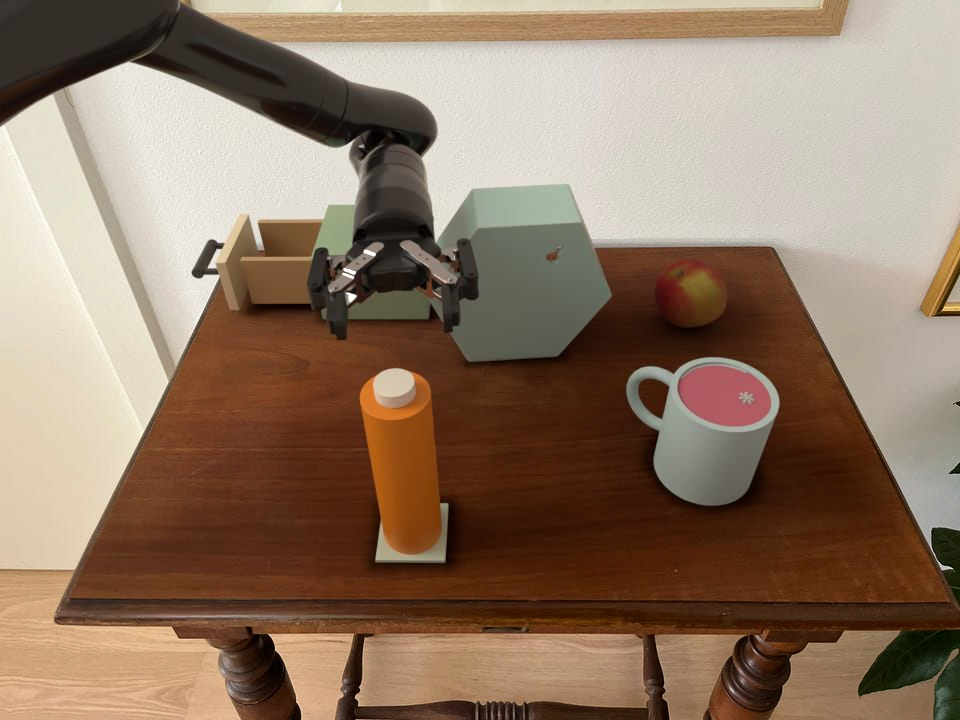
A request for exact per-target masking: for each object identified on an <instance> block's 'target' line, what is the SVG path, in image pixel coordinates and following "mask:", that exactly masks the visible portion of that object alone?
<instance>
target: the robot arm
mask: <svg viewBox="0 0 960 720" xmlns="http://www.w3.org/2000/svg"><path fill="white" fill-rule="evenodd" d="M127 63H130V64H133V65H137V66H141V67H145V68H148V69H152V70H154V71H157V72H159V73H163V74H166V75H169V76H171V77H174V78H175V79H179V80H181V81H184V82H186V83H189V84H192V85H194V86H197V87H199V88H202V89H203V90H205V91H208V92H210V93H213V94H215V95H217V96H219V97H221V98H223V99H226V100H227V101H230V102H232V103H234V104H236V105H238V106H240V107H242V108H244V109H246V110H248V111H250V112H252V113H254V114H256V115H258V116H260V117H262V118H263V119H266V120H268V121H270V122H272V123H274V124H276V125H279V126H281V127H283V128H285V129H287V130H289V131H291V132H293V133H295V134H298V135H300V136H303V137H304V138H307V139H309V140H311V141H314V142H315V143H318V144H320V145H322V146H325V147H328V148H331V149H339V148H343V147H345V146H347V145H349V144H350V143H351V145H350V147H349V151H348V161H349V164H350V165H351V167H352V169H353V170H354V172H355V175H356V177H357V179H358V191H357V193H356V197H355V201H354V205H355V209H354V224H353V239H352V247H351V248H350V249H349V250H348V251H347V253H346V255H329V252H328V249H327V248H325V247H320V248H317V249H316V250H315V251H314V255H313V259H312V263H311V268H310V272H309V276H308V280H307V284H306V285H307V289H308V294H309V299H310V303H311V304H310V307H311V310H312V311H315V312H319V311H321V310H323V309H324V308H327V315H326V319H325V320H326V323H327V327H328V332H329V333H330V335H331V336H332V335H335V336H336V340H337V341H347V338H348V324H349V323H348V322H349V319H348V309H349V308H350V307H352V306H353V305H354V304H355V303H356V302H357V303H360V304H361V303H363V302H364V301H365V300H366V299H367V298H369V297H370V296H371V295H372V294H373V293H375V292H376V291H377V293H386V292H391V291H413V288H416V289H417V290H419V291H420V292H422V293H423V294H425V295H426V296H427V297H429V298H431V299H432V298H434V297H435V298H437V299H438V300H440V301H441V302H442V311H443V322H444V323H443V322H442V323H443V332H444V334H448V333H449V334H450V333H451V332H453V326H459V324H460V322H461V319H460V304H459V301H460V300H462V299H464V298H466V299H467V300H476V299H478V297H479V290H478V278H479V277H478V269H477V265H476V262H475V258H474V254H473V250H472V246H471V242H470V240H468V239H465V238H462V239H459V240H458V241H457V247H451V248H440V247H439V245H437V244H436V237H435V235H436V234H435V226H434V222H435V217H434V213H433V211H434V210H433V203H432V199H431V195H430V193H429V181H428V173H427V169H426V165H425V162H424V160H423V158H424V156H426V155H427V153H428V152H429V151H430V150H431V148H432V147H433V146H434V144H435V143H436V141H437V139H438V136H439V135H438V134H439V128H438V127H439V126H438V122H437V119H436V117H435V115H434V114H433V112H432V111H431V110H430V108H429V107H428V106H427V105H426V104H424V103H423V102H422V101H421V100H419V99H417V98H416V97H414V96H412V95H409V94H407V93H404V92H400V91H397V90H392V89H387V88H382V87H377V86H371V85H368V84H362V83H358V82H354V81H351V80H348V79H346V78H345V77H343V76H341V75H339V74H337V73H336V72H334V71H332V70H330V69H328V68H326V67H325V66H323V65H321V64H319V63H318V62H316V61H314V60H313V59H310V58H308V57H306V56H304V55H302V54H300V53H297V52H295V51H294V50H292V49H290V48H289V49H288V48H286V47H284V46H282V45H278V44H276V43H273V42H271V41H268V40H266V39H264V38H260V37H258V36H255V35H253V34H250V33H248V32H245V31H242V30H240V29H238V28H235V27H233V26H231V25H228V24H225V23H223V22H221V21H219V20H217V19H215V18H212V17H210V16H208V15H206V14H204V13H202V12H201V11H199V10H197V9H195V8H193V7H192V6H190V5H188V4H186V3H184V2H183V1H181V0H0V128H2V127H3V126H4V125H6V124H7V123H9V122H10V121H11V120H13V119H15V117H17V116H18V115H20V114H21V113H23V112H25V111H26V110H28V109H29V108H31V107H32V106H34V105H35V104H38V103H39V102H41V101H42V100H43V101H44V99H47V98H48V97H50V96H52V95H54V94H57V93H58V92H60V91H63V90H64V89H67V88H69V87H71V86H74V85H77V84H79V83H81V82H83V81H86V80H87V79H90V78H92V77H94V76H97V75H100V74H102V73H104V72H107V71H109V70H111V69H114V68H117V67H119V66H122V65H125V64H127ZM442 263H448V264H449V265H450V267H452V268H454V272H455V273H460V277H456V276H455V275H453V274H452V273H450V272H449V271H447V270H446V269H444V268H443V267H442ZM343 269H344V270H343ZM341 270H343V274H342V275H341V276H340V277H339V278H337V279H336V276H337V275H338V274H339V272H340V271H341ZM331 281H334V282H332V283H331ZM330 283H331V284H330ZM362 283H363V284H362ZM345 290H346V293H345V292H344V291H345Z"/></svg>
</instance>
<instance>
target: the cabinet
mask: <svg viewBox="0 0 960 720" xmlns="http://www.w3.org/2000/svg"><path fill="white" fill-rule="evenodd" d="M354 209H355V204H328V205H327V207H326V211H325V213H324V217H323V219H324V220H323V223H322V226H321V229H320V232H319V235H318V238H317V241H316V244H315V247H314V250H313V253H312V256H311V263H312V259H313V255H314V251H315V250H316V249H317V248H320V247H325V248H327V249H328V252H329V255H346V253H347V251H348V250H349V249H350V248H351V247H352V239H353V224H354ZM343 270H344V269H343ZM343 270H341V271H340V272H339V274H338V275H337V276H336V279H337V278H339V277H340V276H341V275H342V274H343ZM332 282H334V281H331V283H332ZM331 283H330V284H331ZM362 284H363V283H362ZM344 292H345V293H346V290H345V291H344ZM431 305H432V304H431V303H430V301H429V300H428V297H427V296H426V295H425V294H423V293H422V292H420V291H419V290H417V289H416V288H413V291H391V292H386V293H377V291H376V292H375V293H373V294H372V295H371V296H370V297H369V298H367V299H366V300H365V301H364V302H363V303H361V304H360V303H357V302H356V303H355V304H354V305H353V306H352V307H350V308H349V309H348V320H430V314H431V313H430V312H431ZM320 311H321V316H322V320H327V319H326V315H327V308H324V309H323V310H320Z"/></svg>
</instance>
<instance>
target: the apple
mask: <svg viewBox="0 0 960 720" xmlns="http://www.w3.org/2000/svg"><path fill="white" fill-rule="evenodd" d="M653 288H654V290H653V291H654V292H653V293H654V300H655V304H656V306H657V309H658V310H659V312H660V313H661V315H662V316H663V318H665V319H666V320H667V321H668V322H669V323H670V324H673V325H675V326H677V327H679V328H684V329H685V328H687V329H688V328H698V327H703V326H706V325H709V324H710V323H712V322H714V321H716V320H717V319H718V318H720V317H721V316H722V314H723V313H724V312H725V309H726V306H727V302H728V287H727V284H726V281H725V279H724V277H723V276H722V275H721V273H720V272H719V271H718V270H717V269H716V268H715V267H714V266H712V265H710V264H708V263H706V262H703V261H701V260H698V259H682V260H678V261H675V262H673V263H671V264H670V265H668V267H666V268H665V269H663V271H661V272H660V273H659V275H658V276H657V279H656V281H655V284H654V287H653Z"/></svg>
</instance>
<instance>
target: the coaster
mask: <svg viewBox="0 0 960 720" xmlns="http://www.w3.org/2000/svg"><path fill="white" fill-rule="evenodd" d="M440 508H441V520H442V533H441V536H440V538H439V540H438V541H437V543H436V544H435V545H434V546H433V547H431V548H430V549H428V550H427V551H425V552H422V553H418V554H403V553H400V552H397V551H395V550H394V549H392V548H391V547H390V546H389V545H388V544H387V542H386V540H385V538H384V533H383V527H382V522H381V521H380V524H379V531H378V539H377V546H376V554H375V563H383V564H384V563H387V564H388V563H389V564H390V563H391V564H392V563H393V564H395V563H397V564H399V563H401V564H402V563H405V564H406V563H408V564H409V563H410V564H414V563H415V564H424V563H426V564H446V557H447V539H448V538H447V537H448V521H449V503H447V502H444V503H443V502H442V503H441V502H440Z"/></svg>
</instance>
